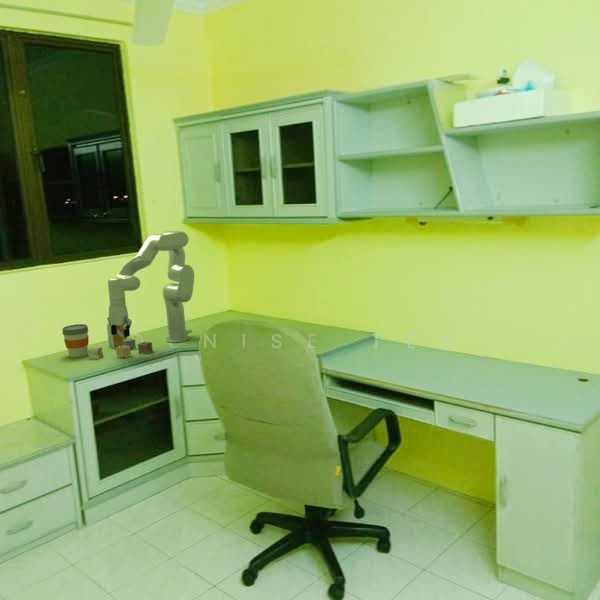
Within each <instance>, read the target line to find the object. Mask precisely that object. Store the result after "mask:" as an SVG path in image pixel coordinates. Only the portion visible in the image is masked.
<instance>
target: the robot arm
mask: <svg viewBox="0 0 600 600" xmlns="http://www.w3.org/2000/svg"><path fill="white" fill-rule="evenodd" d="M188 243H189V236H188V235H187V233H186V232H184V231H177V230H168V231H164V232H162V234H158V233H154V234H153V233H152V234H150V235H149V236H148V237H147V238H146V240H145V241H144V242H143V244H142V246H141V247H140V249H139V250H138V252H137V254H136V255H135V256H134V257H133V258H131V259H130V260H129V261H127V262H126V263H125V264H124V265H123V266H122V267H121V269H120V270H119V271H118V272H117V275H116V277H112V278H111V277H110V278H109V279H108V280H107V286H108V296H109V305H108V317H107V318H106V319H107V322H108V323H109V325H110V327H111V335H115V334H117V326H116V325H118V326H123V327H124V337H127V338H128V337H130V336H131V331H130V330H131V326H132V319H130V318H129V313H128V312H129V311H128V308H127V304H126V293H125V292H130V291H131V292H133V291H136V290H138V289H139V288H140V286H141V280H140V278H138V277H137V276H135V274H136V273H137V272H138V271H140V270H143V269H145V268H147V267H149V266H151V265H152V263H153V261H154V260H155V258H156V256H157V255H158V254H159V252H167V251H168V257H169V258H168V266H167V268H168V269H167V278H168V279H169V280H170V281H173V282H178V283H173V282H172V283H167V284H165V285H164V287H163V289H162V297H163V300H164V304H165V310H166V311H165V312H166V321H167V322H166V323H167V332H168V336H167V338H166V339H165V340H166V342H167V343H173V344H174V343H183V342H186V341H188V340H189V339H190V335H189V334H191V333H192V332H193V330H192V329H186V317H185V307H184V305H183V304H184V303H188V302H190V300H191V298H192V296H193V293H194V284H195V272H194V271H195V270H194V269H193V267H192V266H191V265H189V264H185V262H186V252H185V250H184V247H186V246H187V245H188ZM125 325H126V326H125Z"/></svg>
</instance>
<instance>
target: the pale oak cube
mask: <svg viewBox="0 0 600 600" xmlns="http://www.w3.org/2000/svg"><path fill="white" fill-rule="evenodd" d="M87 355H88V359H89V360H99V359H100V357H101V358H102V357H104V356H103V355H104V353H103V346H92V347H90V348H88V354H87Z"/></svg>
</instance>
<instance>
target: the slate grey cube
mask: <svg viewBox="0 0 600 600" xmlns="http://www.w3.org/2000/svg"><path fill="white" fill-rule="evenodd" d="M122 345H125V346H130V349H131V350H134V349H133V348H136V347H137V346H136V339H134V338H132V337H129V338H128V337H127V339H124V340H122Z"/></svg>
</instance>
